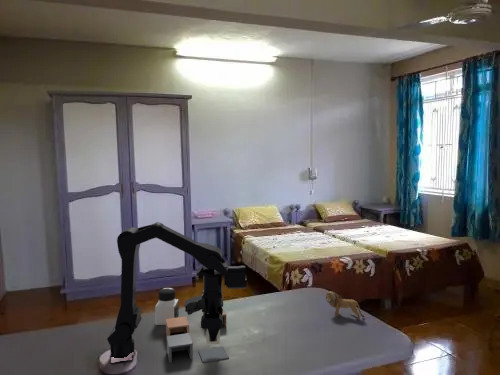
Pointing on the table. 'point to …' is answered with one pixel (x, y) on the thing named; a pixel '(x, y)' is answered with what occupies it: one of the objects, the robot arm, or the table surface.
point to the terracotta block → (177, 325)
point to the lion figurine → (342, 304)
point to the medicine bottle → (166, 306)
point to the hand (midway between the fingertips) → (213, 337)
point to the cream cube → (217, 340)
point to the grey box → (179, 345)
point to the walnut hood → (223, 318)
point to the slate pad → (213, 354)
